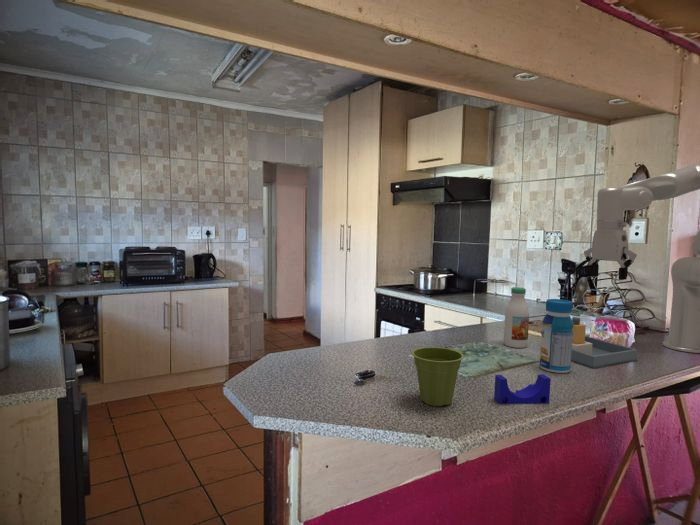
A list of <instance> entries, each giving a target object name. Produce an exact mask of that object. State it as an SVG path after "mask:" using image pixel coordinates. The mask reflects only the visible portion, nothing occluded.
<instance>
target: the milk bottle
mask: <svg viewBox="0 0 700 525" xmlns="http://www.w3.org/2000/svg"><path fill="white" fill-rule="evenodd" d="M510 290H511V291H510V292H511V293H510V294H511V298H510V300H509V302H508V304H507V306H506V308H505V315H504V328H503V329H504V330H503V345H505V346H507V347H508V348H509V347H510V348H514V349H515V348H516V349H524V348H527V347H528V342H529V327H530V326H529V325H530V324H529V323H530V311H529V306H528V305H527V302H526V298H525V296H526V292H527V290H526V288H525V287H518V286H517V287H511V289H510Z"/></svg>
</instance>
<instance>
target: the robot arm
mask: <svg viewBox="0 0 700 525" xmlns="http://www.w3.org/2000/svg"><path fill="white" fill-rule="evenodd" d="M698 190H700V162H697V163H693V164H690V165H687V166H685V167H680V168H678V169H676V170H673V171H669V172H666V173H662V174H658V175H655V176H652V177H649V178H646V179H642V180H637V181H635V182H631V183H626V184H624V185H622V186H618V187H605V188H604V187H602V188H600V189H599V190H598V191H597V200H596V201H597V203H596V205H597V207H596V229H595V230H594V233H593V236H592V237H593V238H592V241H591V242H592V244H591V247H589V248H588V249H586V250H584V251H583V255H584V256H585V260H586V261H587V263H588V265H589V266H590V269H589V273H590V277H591V278H595V277H596V278H597V277H598V276H599V269H600V268H599V267H600V266H599V265H600V264H598V263H599V262H600V261H606V262H607V261H608V262H617V264H618V265H619V266H620V267H618V280H619V281H625V280H628V271H629V268H630V267H631V265H633V263H634V261H635V260H636V258H637V256H638V254H637V253H635V252H633V251H632V250H630V249H629V240H628V239H629V238H628V234H627V230H624V228H625V227H627V226H628V223H627V222H625V219H624V218H625V211H639V210H643V209H646V208H647V207H650V205H651V204H652V202H654V201H665V200H669V199H674V198H678V197H680V196H683V195H686V194H689V193H691V192H695V191H698ZM690 247H691V248H690V249H691V251H692V253H693V254H694V255H696V256H699V257H696V256H684V257H680V258H678V259H676V260H675V261H674V262H673V263H672V266H671V268H670V269H671V270H670V275H671V282H672V298H671V310H670V320H669V330H668V331H669V333H668V339H667V340H664V341H662V345H663V347H665V348H668V349H671V350H673V351H674V350H675V351H679V352H684V353H695V354H700V229H699V230H698V232H697V233H696V235H695V237H694V238H693V241H692V243H691V246H690Z"/></svg>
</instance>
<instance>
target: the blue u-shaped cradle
mask: <svg viewBox="0 0 700 525" xmlns="http://www.w3.org/2000/svg"><path fill="white" fill-rule="evenodd" d="M536 378H537V379H536V381H535V383H534V384H532V383H530V384H528V385H527V386H526V387H524V388H522V389H518V390H515V392H513V391H511V390H510V388H509V385H508V379H507V378H506V377H505V376H503V375H502V374H495V375H494V394H493V399H494V400H495V402H497V403H498V404H499V405H513V404H514V405H517V404H519V405H520V404H521V405H522V404H525V405H526V404H550V394H551V381H552V380H551V378H550V377H548V376H547V375H546V374H541V373H540V374H537V376H536Z"/></svg>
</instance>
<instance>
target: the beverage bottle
mask: <svg viewBox="0 0 700 525" xmlns="http://www.w3.org/2000/svg"><path fill="white" fill-rule="evenodd" d="M545 311H546V312H547V313H546V314H545V315H544V317H543V319H542V322H541V324H542V327H541V331H540V334H541V335H540V336H541V339H540V352H539V353H540V354H539V356H540V357H539V367H540V368H541V369H542V370H543V371H546V372H551V373H557V374H566V373H569V372H570V371H571V370H572V365H571V362H572V361H571V353H572V340H573V336H574V334H573V331H572V328H573V327H574V325H573V321H572V317H571V316H570V315H571V314H572V311H573V302H572V301H571V300H568V299H561V298H560V299H559V298H549V299H547V300H546V301H545Z"/></svg>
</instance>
